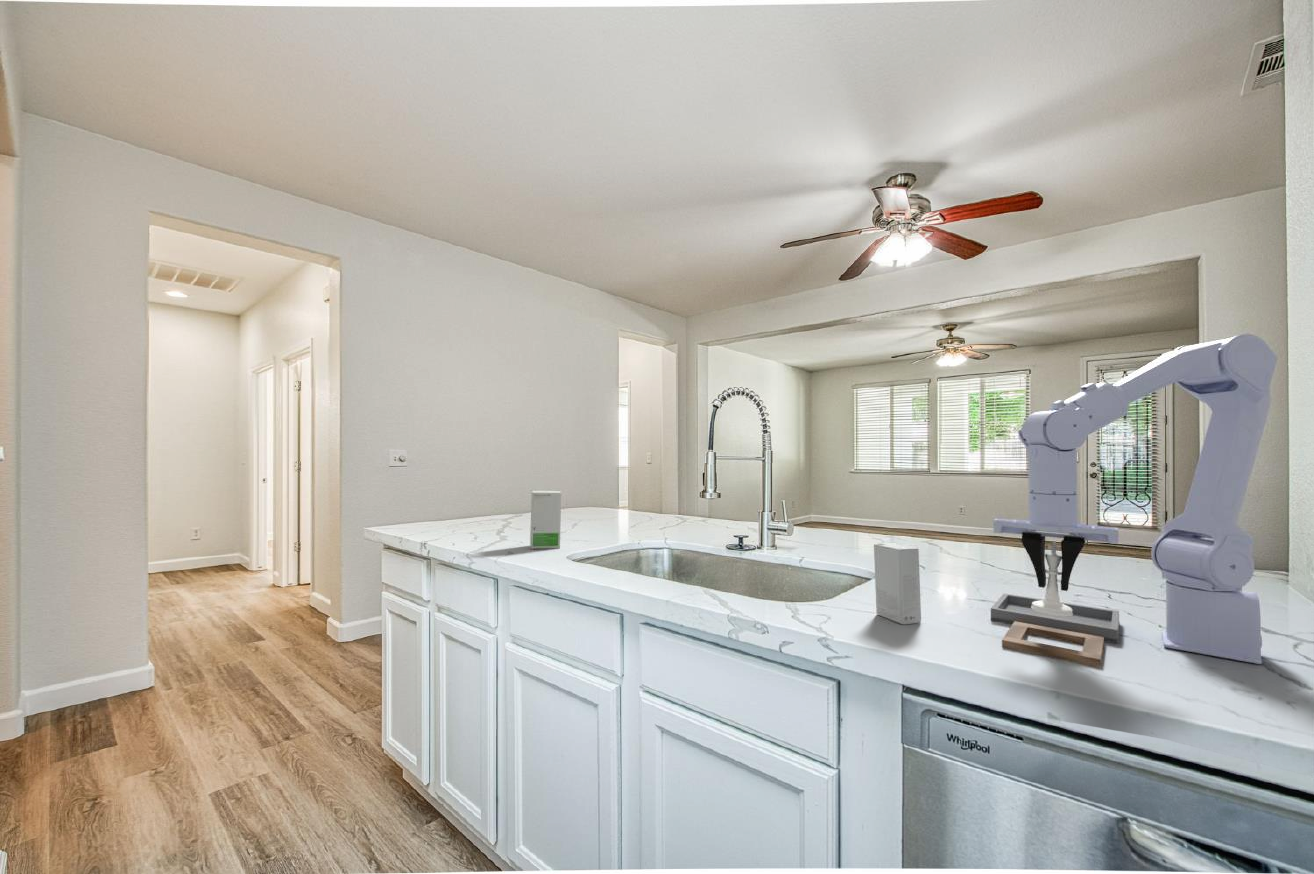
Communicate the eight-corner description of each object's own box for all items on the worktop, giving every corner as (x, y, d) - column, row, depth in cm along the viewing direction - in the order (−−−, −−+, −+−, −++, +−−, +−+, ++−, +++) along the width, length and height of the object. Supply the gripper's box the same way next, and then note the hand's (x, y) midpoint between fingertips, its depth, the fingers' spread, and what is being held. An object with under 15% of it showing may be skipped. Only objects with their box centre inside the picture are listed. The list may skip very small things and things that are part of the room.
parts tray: (1119, 623, 89) (1119, 611, 89) (1117, 643, 80) (1117, 630, 80) (1003, 604, 100) (1003, 593, 100) (990, 620, 90) (990, 608, 90)
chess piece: (1079, 618, 76) (1081, 546, 76) (1038, 614, 78) (1041, 543, 78) (1064, 608, 81) (1066, 540, 81) (1025, 604, 82) (1027, 537, 82)
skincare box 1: (530, 549, 150) (530, 492, 150) (530, 545, 157) (530, 490, 157) (561, 548, 152) (561, 491, 152) (559, 544, 159) (560, 489, 159)
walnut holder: (1104, 644, 80) (1103, 637, 80) (1100, 667, 72) (1100, 659, 72) (1014, 627, 87) (1014, 621, 87) (1001, 646, 79) (1001, 639, 79)
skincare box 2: (922, 622, 89) (922, 547, 90) (900, 625, 88) (900, 549, 88) (894, 611, 95) (893, 541, 95) (873, 614, 94) (872, 543, 94)
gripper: (989, 492, 81) (989, 584, 81) (1117, 498, 72) (1118, 603, 72) (998, 489, 87) (998, 575, 86) (1118, 494, 77) (1119, 592, 77)
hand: (1053, 587), depth 79 cm, fingers closed on chess piece
